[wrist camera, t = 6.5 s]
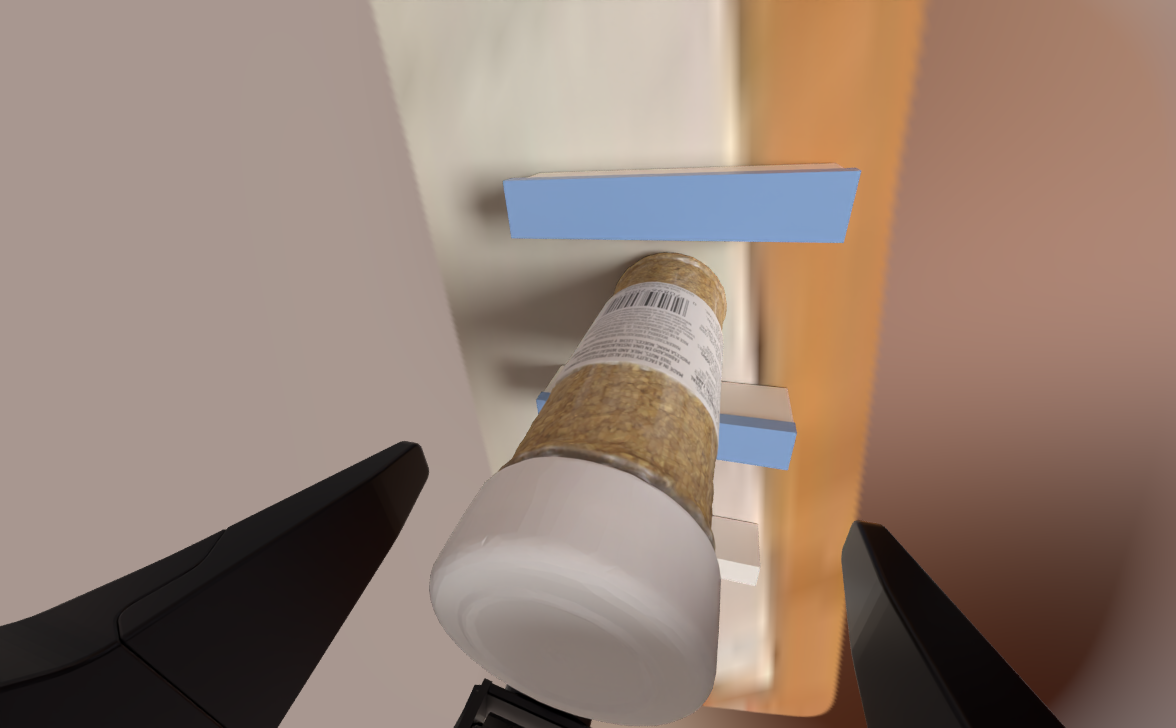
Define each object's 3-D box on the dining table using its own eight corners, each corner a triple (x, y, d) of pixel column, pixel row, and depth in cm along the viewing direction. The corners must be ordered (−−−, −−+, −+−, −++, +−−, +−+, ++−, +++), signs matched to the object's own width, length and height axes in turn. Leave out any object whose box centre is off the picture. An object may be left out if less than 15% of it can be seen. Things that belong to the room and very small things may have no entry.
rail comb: (754, 542, 23) (756, 598, 20) (577, 507, 25) (559, 552, 23) (837, 157, 13) (861, 170, 11) (539, 168, 16) (502, 180, 13)
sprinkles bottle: (606, 336, 19) (424, 663, 8) (628, 235, 16) (402, 510, 5) (708, 365, 18) (665, 771, 7) (747, 265, 16) (775, 654, 5)
